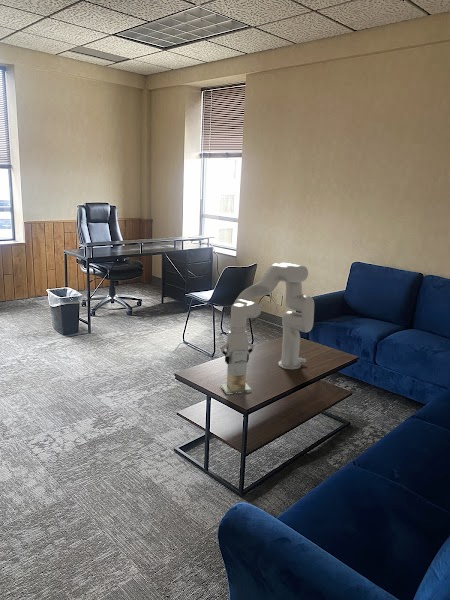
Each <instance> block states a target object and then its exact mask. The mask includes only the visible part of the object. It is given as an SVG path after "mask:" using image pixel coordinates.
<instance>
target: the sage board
mask: <svg viewBox="0 0 450 600" xmlns="http://www.w3.org/2000/svg"><path fill="white" fill-rule="evenodd" d="M221 386H222V388H223V389H224V391H225V392H226V393H236V392H237V393H238V392H247V393H252V388H251V387H250V386H249V384H248V383H246V386H245V389H243V390H233V391H232V390H231V389H230V387H229V386H228V385H227V383H221V384H220V387H221ZM222 388H221V389H222ZM224 391H223V392H224ZM238 394H239V393H238Z"/></svg>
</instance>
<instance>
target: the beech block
mask: <svg viewBox="0 0 450 600" xmlns="http://www.w3.org/2000/svg"><path fill="white" fill-rule="evenodd" d="M226 371H227V370H226ZM226 375H227V377H226V379H227V380H226V384H227V385H228V386H229V387H230V389H231V390H232V391H233V390H243V389H245V386H246V384H247V381H246V380H247V374H246V375H241V376H234V377H233V376H232V375H231V374H230V373H229V372H228V371H227V374H226Z"/></svg>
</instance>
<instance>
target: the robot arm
mask: <svg viewBox="0 0 450 600" xmlns="http://www.w3.org/2000/svg"><path fill="white" fill-rule="evenodd" d="M308 276H309V270H308V268H307V267H306V266H305V265H301V264H295V263H291V262H290V263H289V262H281V263H273V264H271V265H270V266H269V267H268V269H266V271H265V273H264V274H263V275H262V277H261V278H260V279H259V280H258V282H257V283H255V284H253V285H250V286H248V287H246V288H245V289H243V290H242V291H241V292H240V293H239V295H237V298H236V299H235V300H234V302H233V304H232V305H231V307H230V330H229V331H228V332H227V337H226V343H225V344H224V345H221V346H219V347H220V348H219V349H220V351H221V353H222V354H223V355H224V363H226V364H227V365H228V364H229V355H230V353H232V352H233V351H244V350H247V364H248V363H249V359H250V354H251V353H252V352H253V349H255V345H254V344H252V343H251V342H249V337H248V335H249V334H248V331H247V330H249V329H250V328H249V325H248V326H247V319H255V318H258V317H259V316H260V315H261V313H262V306H261V305H260V304H259V303H257V302H255V301H252V299H255V298H258V297H264V296H268V295H271V294H272V293H273V291H274V290H275V288H276V287H277V286H278V284H279V283H280V282H284V283H285V307H286V309H289V310H290V311H289V310H288V311H285V312H284V313H283V315H282V317H281V319H282V320H281V323H282V345H281V347H282V348H281V359H280V360H279V361H278V366H279V367H280V368H282V369H285V370H298V369H300V368H301V366H302V364H301V363H306V362H307V358H302V357H299V355H300V344H301V333H300V332H302V333H309V332H311V330H312V329H313V327H314V321H315V320H314V319H315V301H314V299H313V297H312V296H310V295H308V294H303V291H302V290H303V282H305V281H306V280H307V279H308ZM225 349H226V351H225Z"/></svg>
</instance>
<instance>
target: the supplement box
mask: <svg viewBox="0 0 450 600" xmlns="http://www.w3.org/2000/svg"><path fill="white" fill-rule="evenodd" d="M247 367H248V363H247V350H244V351H233V352H232V353H230V355H229V364H227V370H226V371H228V372H229V373H230V374H231V375H232V376H233V377H234V376H241V375H246V376H247Z"/></svg>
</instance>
